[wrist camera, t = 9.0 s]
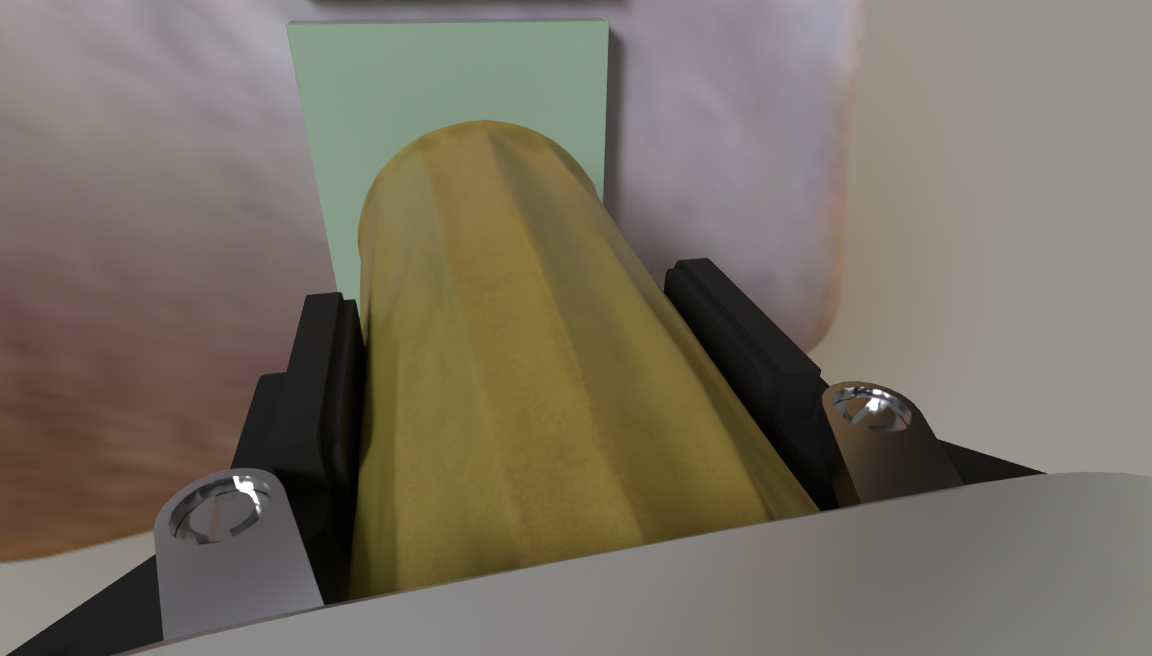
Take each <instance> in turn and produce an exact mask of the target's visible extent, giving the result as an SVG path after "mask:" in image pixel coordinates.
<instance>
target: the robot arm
mask: <svg viewBox="0 0 1152 656" xmlns="http://www.w3.org/2000/svg"><path fill="white" fill-rule="evenodd" d="M664 293H665V295H666V296H667V297H668V299H669V300H670V301H671V303H672V304H673V305H674V307H675V308H676V310H677V311H678V312H679V314H680V315H681V316H682V318H683V319H684V321H685V322H686V324H687V325H688V326H689V328H690V329H691V331H692V332H693V334H694V335H695V337H696V338H697V340H698V341H699V343H700V344H701V346H702V347H703V348H704V350H705V351H706V353H707V354H708V356H709V357H710V359H711V360H712V361H713V363H714V364H715V366H716V367H717V369H718V370H719V371H720V373H721V374H722V376H723V377H724V379H725V380H726V381H727V383H728V384H729V386H730V387H731V388H732V390H733V391H734V393H735V394H736V396H737V397H738V398H739V400H740V401H741V403H742V404H743V406H744V407H745V408H746V410H747V411H748V413H749V414H750V416H751V417H752V419H753V420H754V421H755V423H756V424H757V426H758V427H759V428H760V430H761V431H762V433H763V434H764V435H765V437H766V438H767V440H768V441H769V442H770V444H771V445H772V447H773V448H774V449H775V451H776V452H777V454H778V455H779V456H780V458H781V459H782V460H783V462H784V463H785V465H786V466H787V467H788V469H789V470H790V471H791V473H792V474H793V475H794V477H795V478H796V479H797V481H798V482H799V483H800V485H801V486H802V487H803V489H804V490H805V491H806V493H807V494H808V495H809V497H810V498H811V499H812V501H813V502H814V503H815V505H816V506H817V507H818V509H819V510H820V512H816V513H810V514H805V515H799V516H794V517H788V518H783V519H777V520H772V521H766V522H761V523H755V524H750V525H744V526H739V527H734V528H728V529H723V530H718V531H712V532H707V533H701V534H696V535H691V536H685V537H680V538H675V539H670V540H665V541H660V542H655V543H649V544H644V545H639V546H633V547H627V548H622V549H616V550H611V551H606V552H600V553H595V554H589V555H584V556H579V557H574V558H568V559H563V560H558V561H552V562H547V563H542V564H537V565H531V566H526V567H521V568H516V569H511V570H506V571H500V572H495V573H490V574H485V575H480V576H475V577H469V578H464V579H459V580H454V581H449V582H443V583H438V584H433V585H428V586H423V587H418V588H412V589H407V590H402V591H397V592H392V593H386V594H381V595H376V596H371V597H366V598H361V599H355V600H350V601H348V590H349V578H350V565H351V553H352V541H353V530H354V520H355V510H356V501H357V491H358V480H359V445H360V430H361V418H362V409H363V380H364V351H365V346H364V341H363V335H362V330H361V324H360V319H359V313H358V308H357V303H356V300H355V299H349V300H344V298H343V294H342V293H341V292H335V293H324V294H313V295H307V296H306V298H305V302H304V306H303V310H302V314H301V318H300V321H299V325H298V329H297V333H296V337H295V341H294V345H293V349H292V352H291V356H290V360H289V364H288V368H287V372H282V373H273V374H264V375H262V376H261V377H260V379H259V381H258V383H257V387H256V390H255V393H254V396H253V399H252V402H251V405H250V408H249V412H248V415H247V418H246V421H245V424H244V427H243V430H242V434H241V437H240V440H239V443H238V446H237V449H236V452H235V456H234V459H233V462H232V465H231V468H230V470H226V471H222V472H218V473H214V474H211V475H209V476H206V477H204V478H202V479H199V480H197V481H195V482H193V483H192V484H190V485H188V486H187V487H185V488H184V489H182V490H181V491H179V492H178V493H177V494H175V495H174V496H173V497H172V498H171V499H170V500H169V501H168V502H167V503H166V504H165V505H164V507H163V508H162V510H161V511H160V513H159V515H158V516H157V518H156V521H155V527H154V540H155V552H156V554H155V555H153V556H152V557H151V558H149V559H148V560H146V561H145V562H143V563H142V564H141V565H139V566H137V567H136V568H135V569H133V570H132V571H130V572H129V573H127V574H126V575H124V576H123V577H121V578H120V579H118V580H117V581H115V582H114V583H112V584H111V585H109V586H108V587H106V588H105V589H103V590H102V591H100V592H99V593H98V594H96V595H95V596H93V597H92V598H90V599H89V600H87V601H86V602H84V603H83V604H82V605H80V606H78V607H77V608H75V609H74V610H73V611H71V612H70V613H68V614H67V615H65V616H64V617H62V618H61V619H59V620H58V621H56V622H55V623H53V624H52V625H50V626H49V627H48V628H46V629H45V630H43V631H42V632H40V633H39V634H37V635H36V636H34V637H33V638H31V639H30V640H28V641H27V642H25V643H24V644H23V645H21V646H20V647H18V648H17V649H15V650H14V651H12V652H11V653H9V654H8V655H6V656H1152V477H1149V476H1142V475H1134V474H1126V473H1104V472H1072V473H1055V474H1047V473H1044V472H1041V471H1037V470H1034V469H1031V468H1028V467H1025V466H1021V465H1018V464H1015V463H1012V462H1008V461H1006V460H1002V459H999V458H996V457H993V456H989V455H986V454H983V453H980V452H977V451H974V450H970V449H967V448H964V447H960V446H958V445H954V444H951V443H948V442H945V441H942V440H939V439H937V438H936V436H935V434H934V433H933V431H932V429H931V428H930V426H929V424H928V423H927V421H926V419H925V418H924V416H923V414H922V413H921V411H920V410H919V409H918V408H917V407H916V406H915V404H914V403H913V402H912V401H910V400H909V399H907V398H906V397H905V396H903V395H902V394H900V393H898V392H895V391H893V390H891V389H889V388H886V387H883V386H880V385H876V384H872V383H866V382H859V381H856V382H842V383H838V384H834V385H832V386H831V387H830V386H829V385H828V384H827V383H826V382H825V381H824V380H823V379H822V378H821V377H820V374H821V369H820V368H819V367H818V366H817V365H816V364H815V363H814V362H813V361H812V360H811V359H810V358H809V357H808V356H807V355H806V354H805V353H804V352H803V351H802V350H801V349H800V348H799V347H798V346H797V345H796V344H795V343H794V342H793V341H792V340H791V339H790V338H789V337H788V336H787V335H786V334H785V333H783V332H782V331H781V330H780V329H779V328H778V327H777V326H776V325H775V324H774V323H773V322H772V321H771V320H770V319H769V318H768V317H767V316H766V315H765V314H764V313H763V312H762V311H761V310H760V309H759V308H758V307H757V306H756V305H755V304H754V303H753V302H752V301H751V300H750V299H749V298H748V297H747V296H746V295H745V294H744V293H743V292H742V291H741V290H740V289H739V288H738V287H737V286H736V285H735V284H734V283H733V282H732V281H731V280H730V279H729V278H728V277H727V276H726V275H725V274H724V273H723V272H722V271H721V270H720V269H719V268H718V267H717V266H716V265H715V264H714V263H713V262H712V261H711V260H709V259H708V258H700V259H690V260H680V261H677V262H676V264H675V267H674V269H668V270H667V272H666V276H665V286H664Z"/></svg>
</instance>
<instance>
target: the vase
mask: <svg viewBox="0 0 1152 656" xmlns="http://www.w3.org/2000/svg"><path fill="white" fill-rule="evenodd" d="M357 245H358V250H359V255H360V259H361V270H360V324H361V330H362V335H363V341H364V346H365V351H364V380H363V409H362V418H361V430H360V445H359V480H358V491H357V501H356V510H355V520H354V530H353V541H352V553H351V565H350V578H349V590H348V601H350V600H355V599H361V598H366V597H371V596H376V595H381V594H386V593H392V592H397V591H402V590H407V589H412V588H418V587H423V586H428V585H433V584H438V583H443V582H449V581H454V580H459V579H464V578H469V577H475V576H480V575H485V574H490V573H495V572H500V571H506V570H511V569H516V568H521V567H526V566H531V565H537V564H542V563H547V562H552V561H558V560H563V559H568V558H574V557H579V556H584V555H589V554H595V553H600V552H606V551H611V550H616V549H622V548H627V547H633V546H639V545H644V544H649V543H655V542H660V541H665V540H670V539H675V538H680V537H685V536H691V535H696V534H701V533H707V532H712V531H718V530H723V529H728V528H734V527H739V526H744V525H750V524H755V523H761V522H766V521H772V520H777V519H783V518H788V517H794V516H799V515H805V514H810V513H816V512H820V510H819V509H818V507H817V506H816V505H815V503H814V502H813V501H812V499H811V498H810V497H809V495H808V494H807V493H806V491H805V490H804V489H803V487H802V486H801V485H800V483H799V482H798V481H797V479H796V478H795V477H794V475H793V474H792V473H791V471H790V470H789V469H788V467H787V466H786V465H785V463H784V462H783V460H782V459H781V458H780V456H779V455H778V454H777V452H776V451H775V449H774V448H773V447H772V445H771V444H770V442H769V441H768V440H767V438H766V437H765V435H764V434H763V433H762V431H761V430H760V428H759V427H758V426H757V424H756V423H755V421H754V420H753V419H752V417H751V416H750V414H749V413H748V411H747V410H746V408H745V407H744V406H743V404H742V403H741V401H740V400H739V398H738V397H737V396H736V394H735V393H734V391H733V390H732V388H731V387H730V386H729V384H728V383H727V381H726V380H725V379H724V377H723V376H722V374H721V373H720V371H719V370H718V369H717V367H716V366H715V364H714V363H713V361H712V360H711V359H710V357H709V356H708V354H707V353H706V351H705V350H704V348H703V347H702V346H701V344H700V343H699V341H698V340H697V338H696V337H695V335H694V334H693V332H692V331H691V329H690V328H689V326H688V325H687V324H686V322H685V321H684V319H683V318H682V316H681V315H680V314H679V312H678V311H677V310H676V308H675V307H674V305H673V304H672V303H671V301H670V300H669V299H668V297H667V296H666V295H665V293H664V292H663V291H662V290H661V288H660V287H659V286H658V285H657V283H656V282H655V281H654V279H653V278H652V277H651V275H650V274H649V272H648V271H647V269H646V268H645V267H644V265H643V263H642V262H641V260H640V259H639V257H638V256H637V254H636V253H635V251H634V250H633V248H632V247H631V245H630V244H629V243H628V241H627V240H626V239H625V237H624V236H623V234H622V233H621V232H620V230H619V229H618V227H617V225H616V224H615V222H614V221H613V219H612V218H611V216H610V215H609V213H608V212H607V210H606V209H605V207H604V206H603V204H602V202H601V201H600V199H599V197H598V194H597V191H596V189H595V186H594V184H593V182H592V180H591V179H590V178H589V176H588V175H587V173H586V172H585V171H584V169H583V168H582V167H581V165H580V164H579V163H578V162H577V161H576V160H575V159H574V158H573V157H572V156H571V155H570V154H569V153H568V152H567V151H566V150H565V149H564V148H563V147H561V146H560V145H559V144H557V143H556V142H555V141H553V140H552V139H550V138H548V137H546V136H544V135H542V134H541V133H538V132H536V131H534V130H531V129H529V128H526V127H523V126H519V125H516V124H511V123H505V122H499V121H491V120H476V121H468V122H463V123H458V124H454V125H451V126H448V127H444V128H441V129H438V130H435V131H433V132H430V133H427V134H425V135H423V136H421V137H419V138H418V139H416V140H414V141H412V142H411V143H409V144H408V145H407V146H405V147H404V148H403V149H402V150H400V151H399V152H398V153H397V154H396V155H395V156H394V157H393V158H392V159H391V160H390V161H389V162H388V163H387V164H386V165H385V166H384V167H383V168H382V170H381V171H380V172H379V173H378V175H377V176H376V177H375V179H374V181H373V183H372V185H371V187H370V189H369V191H368V193H367V195H366V198H365V202H364V205H363V208H362V211H361V216H360V220H359V225H358V244H357Z"/></svg>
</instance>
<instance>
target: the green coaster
mask: <svg viewBox="0 0 1152 656" xmlns="http://www.w3.org/2000/svg"><path fill="white" fill-rule="evenodd" d="M286 29H287V34H288V39H289V44H290V49H291V55H292V60H293V65H294V70H295V75H296V80H297V85H298V90H299V95H300V101H301V106H302V111H303V116H304V121H305V126H306V131H307V136H308V141H309V147H310V152H311V157H312V162H313V167H314V172H315V177H316V182H317V187H318V193H319V198H320V203H321V208H322V213H323V218H324V223H325V228H326V233H327V239H328V244H329V249H330V254H331V259H332V264H333V269H334V274H335V280H336V285H337V290H338V292H341V293H342V294H343V298H344V300H349V299H355V300H356V303H357V308H358V313H359V316H360V270H361V259H360V255H359V250H358V245H357V244H358V225H359V220H360V216H361V211H362V208H363V205H364V202H365V198H366V195H367V193H368V191H369V189H370V187H371V185H372V183H373V181H374V179H375V177H376V176H377V175H378V173H379V172H380V171H381V170H382V168H383V167H384V166H385V165H386V164H387V163H388V162H389V161H390V160H391V159H392V158H393V157H394V156H395V155H396V154H397V153H398V152H399V151H400V150H402V149H403V148H404V147H405V146H407V145H408V144H409V143H411V142H412V141H414V140H416V139H418V138H419V137H421V136H423V135H425V134H427V133H430V132H433V131H435V130H438V129H441V128H444V127H448V126H451V125H454V124H458V123H463V122H468V121H476V120H491V121H499V122H505V123H511V124H516V125H519V126H523V127H526V128H529V129H531V130H534V131H536V132H538V133H541V134H542V135H544V136H546V137H548V138H550V139H552V140H553V141H555V142H556V143H557V144H559V145H560V146H561V147H563V148H564V149H565V150H566V151H567V152H568V153H569V154H570V155H571V156H572V157H573V158H574V159H575V160H576V161H577V162H578V163H579V164H580V165H581V167H582V168H583V169H584V171H585V172H586V173H587V175H588V176H589V178H590V179H591V180H592V182H593V184H594V186H595V189H596V191H597V194H598V197H599V199H600V201H601V202H602V204H603V186H604V156H605V125H606V94H607V64H608V33H609V21H607V20H604V19H601V18H558V19H460V20H362V21H290V22H289V23H287V24H286Z"/></svg>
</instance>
